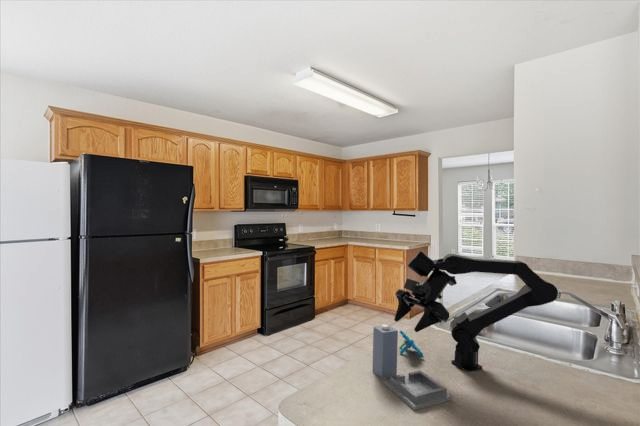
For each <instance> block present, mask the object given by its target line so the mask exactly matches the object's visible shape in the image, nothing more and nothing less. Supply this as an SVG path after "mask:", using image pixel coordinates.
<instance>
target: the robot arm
mask: <svg viewBox="0 0 640 426" xmlns="http://www.w3.org/2000/svg"><path fill="white" fill-rule="evenodd" d="M406 267H407V268H409V269H410V270H411V271H413V272H414V273H415V274H416V275H417V276H419V277H420V278H422V277H424V278H427V279H426V280H420V281H417V280H414V279H411V278H406V280H405V282H404V285H403V289H402V288H401V289H400V288H399V289H397V291H396V292H395V294H394V295H395V296H396V299H397V301H398V302H397V303H398V305H397V309H396V313H395V316H394V318H393V319H394V321H395V323H397V322H399V321H400V320H401V319H403V318H404V317H405V316H406V315H407V314H408V313H410V312H411V311H412V308H413V307H415V305H416V307H417V306H418V307H420V308H423V314H422V316H421V317H420V319H419V320H418V322H417V324H416V325H415V327H414V329H413V330H414V332H415V333H418V332H420V331H423V330H425V329H427V328H428V327H430V326H433V325H435V324H438V323H439V324H440V323H443V322H444V323H447V321H448V320H449V318H450V312H449V311H448V309H447V308H446V307H445V306H444V305H443V303H442V302H439V301H437V300H438V299H439V300H442V297H443V296H442V295H441V294H442V293H443V291H444V290H445V288H446V287H447V286H448V285H449V286H451V287H453V286H456V285H457V283H458V282H457V280H456V276H454V275H462V274H469V273H484V274H485V273H486V274H487V273H488V274H502V275H503V274H504V275H514V276H515V275H516V276H517V277H518V278H519V279H520V280H521V281H522V282H523V283H524V285H523V286H522V287H521V288H520V289H519V290H518V291H517V293H515V294H513V295H511V296H509V297H507V298H506V299H503V300H501V301H499V302H498V303H496V304H493V305H492V306H489V307H488V308H485V309H484V310H481V311H480V312H479V311H478V313H476V314H473V315H467V313H466V312H464V311H463V312H462V313H461V314H460V315H458V316H457V315H456V316H454V317H453V320H451V321H450V324H449V329H450V333H451V334H450V335H451V337H452V339H453V340H454V341H455V342H456V344H455V350H454V359H453V360H451V361H450V362H451V364H453V365H456V366H457V367H458V368H460V369H461V370H464V371H466V372H472V371H476V370H480V369H483V366H482V365H481V364H479V349H480V348H481V346H480V344H479V342H478V340H477V339H478V338H477V337H478V335H479V334H480V333H481V332H482V331H483V330H484V329H486V328H487V327H489V326H492V325H494V324H496V323H498V322H500V321H503V320H504V319H506V318H508V317H510V316H513V315H514V314H516V313H519V312H520V311H522V310H524V309H526V308H529V307H539V306H543V305H546V304H549V303H553V302H555V301H556V300H557V299H558V296H559V291H558V289H557V287H556V285H555V284H553V283H551V282H549V281H547V280H545V279H543V278H542V277H540V276H539V275H538V274H537V273H536V272H535V271H533V270H532V268H530V267H529V265H528V264H527V263H526V262H523V261H521V260H499V259H498V260H497V259H482V258H481V259H479V258H471V257H468V256H464V255H460V254H457V253H456V254H455V253H448V254H446V255H445V256H444V257H443V258H439V259H432V258H430V257H429V256H427V255H426V253H425V252H423V251H422V250H420V251H418V253H416V255H415V256H413V257H412V258H411V260H410V261H409V262H408V264H406ZM449 274H451V275H449ZM408 290H409V291H410V292H409V291H408ZM413 296H414V297H413Z"/></svg>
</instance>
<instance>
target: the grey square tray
mask: <svg viewBox="0 0 640 426" xmlns="http://www.w3.org/2000/svg"><path fill="white" fill-rule="evenodd" d="M384 385H385V386H387V388H388V389H389V390H391V391H392V392H393V393H394V394H395V395H396V396H397V397H399V398H400V399H401V400H402V401H403V402H404V403H406V405H408V406H409V407H410V408H411V409H412V410H413V411H418V410H421V409H426V408H429V407H432V406H436V405H440V404H443V403H446V402H451V401H453V398H454V397H453V395H452V394H451V393H449V392H448V390H447V389H448V388H446V387H445V386H444V385H442V384H441V383H440V382H438V381H437V380H435V379H434V378H432V377H431V376H429V375H427V374H426V373H424V372H423V371H421V370H416V371H412V372H408V376H406V375H405V374H403V373H401V374H397V375H396V376H392V377H390V379H388V380H385V382H384Z"/></svg>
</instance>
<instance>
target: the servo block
mask: <svg viewBox="0 0 640 426" xmlns="http://www.w3.org/2000/svg"><path fill="white" fill-rule="evenodd" d="M372 331H373V333H372V336H373V337H372V338H373V339H372V372H374V373H375V374H376V375H377V376H378V377H380V378H381V379H382V380H384V379H387V378H391V377H392V376H396V375H398V373H397V371H398V340H399V338H398V336H399V335H398V333H399V331H398V329H396V328H394V327H393V326H391V325H388V324H381V325H378V326H377V325H375V326H373V330H372Z"/></svg>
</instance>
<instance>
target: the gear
mask: <svg viewBox="0 0 640 426" xmlns="http://www.w3.org/2000/svg"><path fill="white" fill-rule="evenodd" d="M399 334H400V335H401V336H402V337H403V338H404V340H403V342H402V344H401V345H400V346H399V348H400V349H401V350H399V353H400V354H401V355H403V354H404V353H405V352H406V351H407V350H408V349H411V347H412V349H413V350H415V352H416V353H417V354H418V355H419V356H420V357H423V356H424V354H423V352H422V351H421V349H419V348H418V346H417V345H416V344H415V341H414V340H413V339H411V338H410V337H409V336H408V335H407V334H406V333H405V332H404V331H403V330H401V329H400V331H399Z"/></svg>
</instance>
